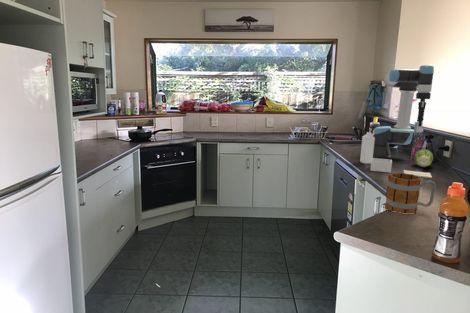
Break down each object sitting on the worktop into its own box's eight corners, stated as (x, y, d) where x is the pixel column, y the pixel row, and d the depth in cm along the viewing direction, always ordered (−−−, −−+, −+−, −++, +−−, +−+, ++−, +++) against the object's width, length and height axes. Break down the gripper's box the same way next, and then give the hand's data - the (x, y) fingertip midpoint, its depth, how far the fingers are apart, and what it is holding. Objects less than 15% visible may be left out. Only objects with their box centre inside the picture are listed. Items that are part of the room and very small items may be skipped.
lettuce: (412, 169, 231) (414, 152, 229) (413, 163, 249) (415, 147, 247) (432, 171, 226) (434, 154, 224) (431, 165, 244) (434, 149, 242)
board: (403, 171, 224) (403, 170, 224) (429, 174, 218) (430, 172, 218) (404, 175, 214) (404, 173, 214) (431, 178, 208) (431, 176, 208)
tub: (370, 168, 230) (372, 157, 229) (390, 170, 226) (391, 159, 224) (370, 171, 221) (371, 160, 220) (390, 173, 217) (391, 162, 215)
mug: (388, 213, 148) (392, 179, 145) (381, 203, 161) (384, 171, 158) (438, 217, 145) (443, 182, 142) (427, 206, 158) (431, 174, 155)
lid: (390, 129, 222) (391, 120, 221) (420, 131, 215) (422, 122, 214) (390, 131, 213) (391, 121, 211) (421, 133, 205) (423, 123, 204)
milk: (367, 162, 248) (370, 131, 244) (372, 164, 242) (375, 133, 238) (359, 162, 247) (362, 131, 243) (364, 164, 241) (367, 133, 237)
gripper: (416, 92, 216) (411, 129, 220) (417, 92, 200) (412, 132, 205) (429, 92, 212) (424, 130, 217) (432, 92, 197) (426, 133, 202)
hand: (418, 131), depth 211 cm, fingers closed on lid, 4 cm apart
